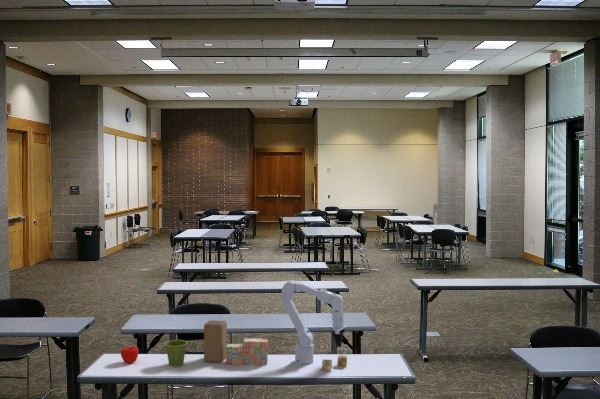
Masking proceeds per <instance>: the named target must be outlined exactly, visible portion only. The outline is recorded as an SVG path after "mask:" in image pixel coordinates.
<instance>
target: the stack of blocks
mask: <svg viewBox="0 0 600 399" xmlns="http://www.w3.org/2000/svg"><path fill="white" fill-rule="evenodd" d="M268 343H269V339H267V338H244V339H243V342H242V343H227V346H226V358H225V365H232V366H233V365H234V366H235V365H239V366H240V365H244V366H246V365H247V366H267V365H268V359H269V358H268V355H269V354H268V353H269V352H268V351H269V344H268Z"/></svg>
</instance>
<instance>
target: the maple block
mask: <svg viewBox="0 0 600 399" xmlns="http://www.w3.org/2000/svg"><path fill="white" fill-rule="evenodd" d="M332 370H333V359H322V361H321V372H332Z"/></svg>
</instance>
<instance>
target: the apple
mask: <svg viewBox="0 0 600 399" xmlns="http://www.w3.org/2000/svg"><path fill="white" fill-rule="evenodd" d="M138 356H139V348H138V347H137V346H126V347H123V348H121V350H120V358H121V359H122V361H123V362H124V363H125V364H133V363H135V362H136V361H137V359H138Z"/></svg>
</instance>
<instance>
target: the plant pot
mask: <svg viewBox="0 0 600 399" xmlns="http://www.w3.org/2000/svg"><path fill="white" fill-rule="evenodd" d="M188 343H189V342H188V340H183V339H172V340H169V341H165V342H164V346H165V349H166V353H167V360H168V365H169V366H171V367H179V366H183V364H184V362H185V356H186V355H185V354H186V350H187V346H188V345H187V344H188Z"/></svg>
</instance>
